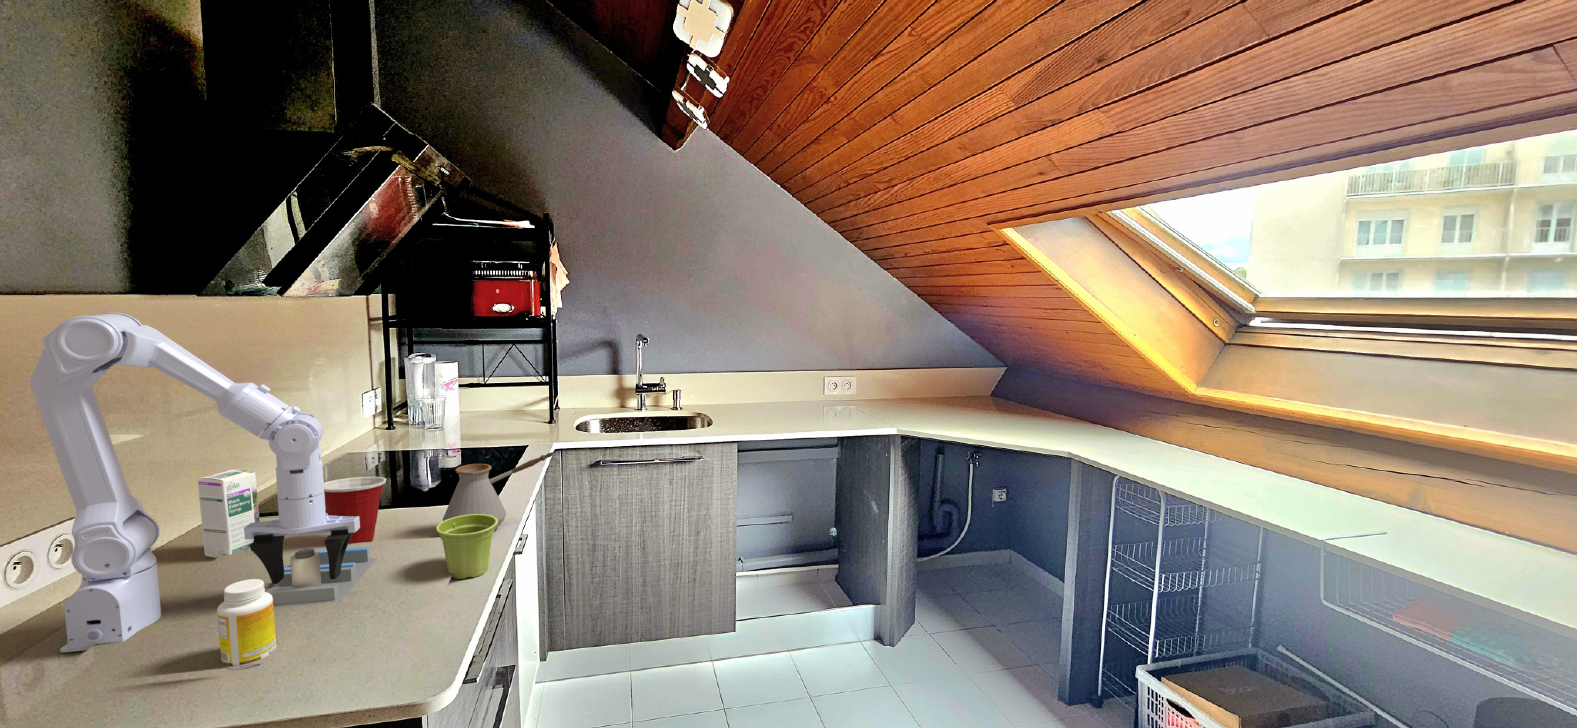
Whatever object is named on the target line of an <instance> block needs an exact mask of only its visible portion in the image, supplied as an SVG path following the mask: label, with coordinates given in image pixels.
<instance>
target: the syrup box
mask: <svg viewBox="0 0 1577 728" xmlns="http://www.w3.org/2000/svg"><path fill="white" fill-rule="evenodd" d="M197 487H198V498H199V499H198V500H199V509H200V517H201V520H200V521H201V529H202V538H203V549H204V556H205V557H210V558H214V559H218V558H220V557H221V556H222V555H228V556H230V555H234V554H236V553H238V552H242V551H251V549H250V545H251V544H252V543H253V540H254V539H248V540H245V535H244V527H246V526H247V525H249V524H250V523H256V522H260V513H259V512H260V511H259V500H258V499H259V498H258V488H257V487H258V485H257V476H256V472H255V471H252V470H247V469H229V470H227V471H222V472H219V473H218V472H217V473H216V474H211V475H207V476H203V477H199V478H197Z"/></svg>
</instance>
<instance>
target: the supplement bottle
mask: <svg viewBox="0 0 1577 728" xmlns="http://www.w3.org/2000/svg"><path fill="white" fill-rule="evenodd" d="M264 590H266V589H265V582H264V581H263V580H262V579H259V578H257V579H256V578H251V579H244V580H240V581H236V582H234V583H232V584H228V585H227V586H226V587H225V588H224V589H223V593H224V594H223V599H224V601H223V602H221V603H220V604H219V605H218V606H217V609H216V617H217V630H218V636H219V637H218V638H219V641H218V642H219V649H220V661H221V663H222V664H224V665H226V666H225V667H223V668H224V669H226V670H228V671H242V670H247V669H251V668H255V667H258V666H259V665H261V663H253V662H257V661H259V660H261V659H264V658H267V657H268V656H269V655H271V654H273V653H274V652H275V650H276V649H277V638H276V637H277V636H276V623H275V622H276V620H275V609H274V608H275V607H273V597H272V595H271V594H269V593H267V592H265V591H264ZM250 663H253V664H250Z"/></svg>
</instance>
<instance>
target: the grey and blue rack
mask: <svg viewBox="0 0 1577 728" xmlns="http://www.w3.org/2000/svg"><path fill="white" fill-rule="evenodd" d="M370 547H371V546H362V547H361V546H360V547H358V546H357V547H347V548H346V551H345V554H344V557H343V561H342V565H341V572H340V575H339V576H338V577H337V578H336V579H330V575H329V558H328V553H327V549H314V551H318V552H319V554H320V571H321V586H310V587H298V588H292V575H291V566H290V567H289V566H288V567H287V566H284V578H283V579H282V580H281V581H280V582H279V583H278V584H273V585H272V586H271V588H269V589H265V590H264V591H265V592H267V593H269V594H271V595H272V597H273V608H281V607H289V606H291V607H292V606H300V605H301V606H302V605H303V606H304V605H313V604H325V603H335V602H342V601H343V600H344V599H345V598H346V596H347V595H348V594H349V593H350V592H351V590H352V589H353V588H354V587H355V586H356V585H357V584H358V583H359V581H360V580H361V579H362V577H363V576H364V575H365V574H366V572H368V570H369V569H370V568H371V567H372V565H373V564H374V563H375V562H376V561H377V560H378V557H372V558H371V549H370Z"/></svg>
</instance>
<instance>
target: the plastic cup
mask: <svg viewBox="0 0 1577 728" xmlns="http://www.w3.org/2000/svg"><path fill="white" fill-rule="evenodd" d="M386 481H387V478H386V477H383V476H356V477H347V478H340V479H338V478H337V479H334V480H333V479H332V480H329V481H324V494H325V510H326V513H327V515H329V516H346V517H356V516H359V520H360V528H359V529H358V530H357V531H356V532H354V533H353V535H352V537H351V539H350V541H349V543H348V545H351V544H352V545H353V544H360V543H363V544H364V543H373V541H374V537H375V533H376V525H377V521H378V515H379V509H380V508H379V506H380V499H381V495H382V491H383V488H384V485H385V484H386Z"/></svg>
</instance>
